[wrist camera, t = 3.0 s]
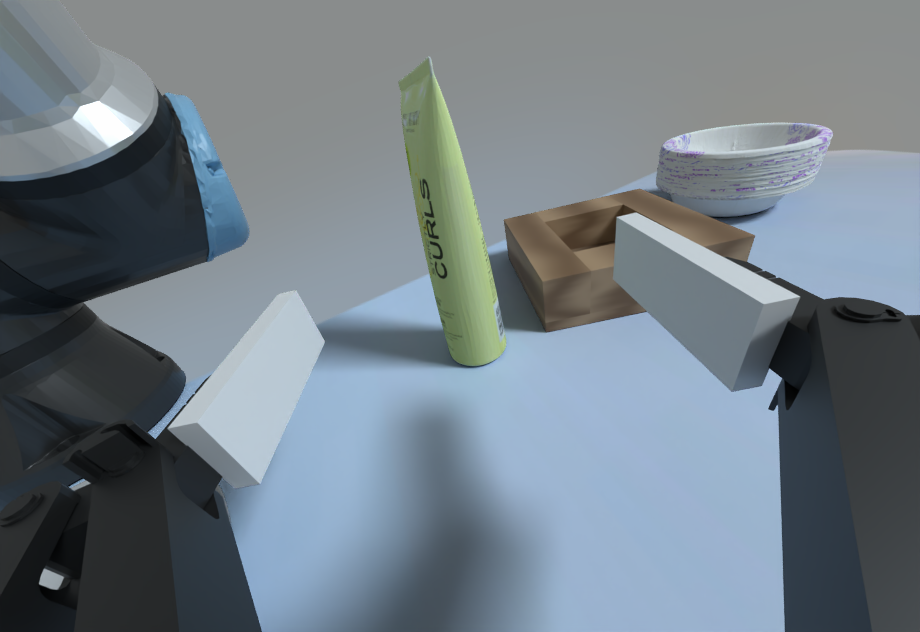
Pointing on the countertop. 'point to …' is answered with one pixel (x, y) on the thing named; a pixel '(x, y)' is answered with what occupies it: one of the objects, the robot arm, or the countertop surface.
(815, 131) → the paper bowls
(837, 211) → the countertop surface
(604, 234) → the socket block
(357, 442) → the countertop surface
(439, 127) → the tube
